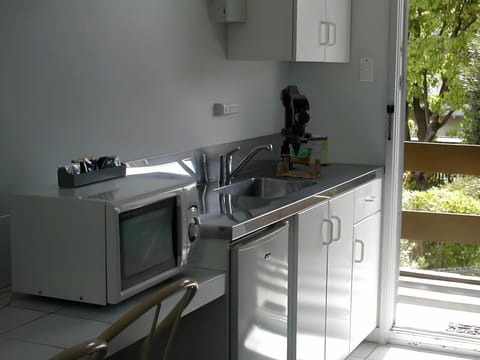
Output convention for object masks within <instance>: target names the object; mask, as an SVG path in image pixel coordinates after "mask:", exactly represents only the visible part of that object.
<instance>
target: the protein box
mask: <svg viewBox="0 0 480 360" xmlns="http://www.w3.org/2000/svg"><path fill="white" fill-rule="evenodd" d="M328 138H329V137H328V136H323V135H319V134H312V139H309V138H307V140H309V142H308V144H312V146H313V149H312V151H311V156H310V162H309V165H304V166H306V167H308V168H309V166H310V165H313V164H315V159H320V167H328V150H329V149H328V143H329V141H328Z"/></svg>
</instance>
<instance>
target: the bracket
mask: <svg viewBox="0 0 480 360" xmlns="http://www.w3.org/2000/svg"><path fill="white" fill-rule="evenodd" d="M276 168H277V169H276V174H275V175H276V177H283V176H291V177H290V178H297V177H302V178H301V179H310V178H313V179H316V178H319V177H321V176H322V173H321V166H320V159H315V164H313V165H310V166H309V167H308V172H301V171H299V172H298V171H290V169H289V158H287V157H285V158H284V162H282V161H281V162H279V163H277V167H276Z"/></svg>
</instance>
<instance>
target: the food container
mask: <svg viewBox="0 0 480 360" xmlns="http://www.w3.org/2000/svg"><path fill="white" fill-rule="evenodd" d="M289 147H290V154H289V155H290V164H293V165H304V166H305V165H309V162H310V156H311V151H312V149H313V146H312V144H305V143H301V146H300V149H299V153H298V155H297V156H295V154H294V150H293V147H292V145H291V144H289Z"/></svg>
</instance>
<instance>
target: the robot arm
mask: <svg viewBox="0 0 480 360" xmlns="http://www.w3.org/2000/svg"><path fill="white" fill-rule="evenodd" d="M279 95H280V96H279V98H280V101H281V102H280V103H281V105H282V106H283V109H284V113H283V114H284V115H283V117H284V119H283V121H284V123H283V128H281V131H280V135H282V140H281V141H280V145H279V148H278V157H279V158H281V163H282V162H284V158H285V157H287V158H289V170H293V169H296V166H294V164H290V147H289V144H291V145H292V147H293V150H294V154H295V156H297V155H298V153H299V149H300V146H301V143H305V144H308V142H309V140H307V138H309V139H312V135H313V134H312V133H311V132H306V127H308V123H309V122H310V120H311V116H310V114H309V113H308V112H309V111H310V109H311V106H310V102H309V99H308V98H307V96H306V95H305V94H301V92H300V91H299V89H298V86H297V85H296V84H292V85H291V84H290V85H286V87H285V88H283V89H281V91H280V94H279Z"/></svg>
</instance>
